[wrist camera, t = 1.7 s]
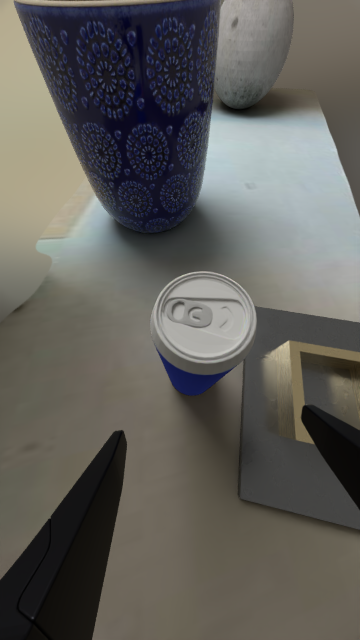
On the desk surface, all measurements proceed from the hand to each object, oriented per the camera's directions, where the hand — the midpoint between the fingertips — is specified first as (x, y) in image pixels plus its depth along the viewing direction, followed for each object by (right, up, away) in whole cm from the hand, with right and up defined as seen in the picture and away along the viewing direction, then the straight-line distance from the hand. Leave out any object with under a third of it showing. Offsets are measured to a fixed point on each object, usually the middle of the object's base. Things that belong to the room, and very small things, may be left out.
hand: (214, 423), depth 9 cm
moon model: (+16, +71, +48) cm, 87 cm away
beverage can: (0, -1, +13) cm, 13 cm away
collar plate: (+13, -3, +11) cm, 18 cm away
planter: (-7, +26, +26) cm, 37 cm away
